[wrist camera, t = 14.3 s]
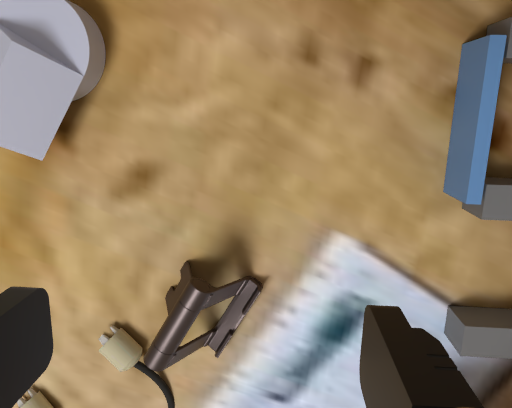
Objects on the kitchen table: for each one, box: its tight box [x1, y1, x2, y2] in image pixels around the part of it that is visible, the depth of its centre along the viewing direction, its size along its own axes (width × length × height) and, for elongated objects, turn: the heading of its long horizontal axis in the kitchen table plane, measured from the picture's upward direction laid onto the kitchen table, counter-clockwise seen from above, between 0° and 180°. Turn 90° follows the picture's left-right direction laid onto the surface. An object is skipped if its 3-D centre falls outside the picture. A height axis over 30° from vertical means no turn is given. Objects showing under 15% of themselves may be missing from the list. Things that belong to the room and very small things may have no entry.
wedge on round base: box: [0, 0, 106, 160], centre depth 36 cm, size 9×7×13 cm
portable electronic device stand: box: [144, 262, 263, 371], centre depth 39 cm, size 9×8×8 cm
